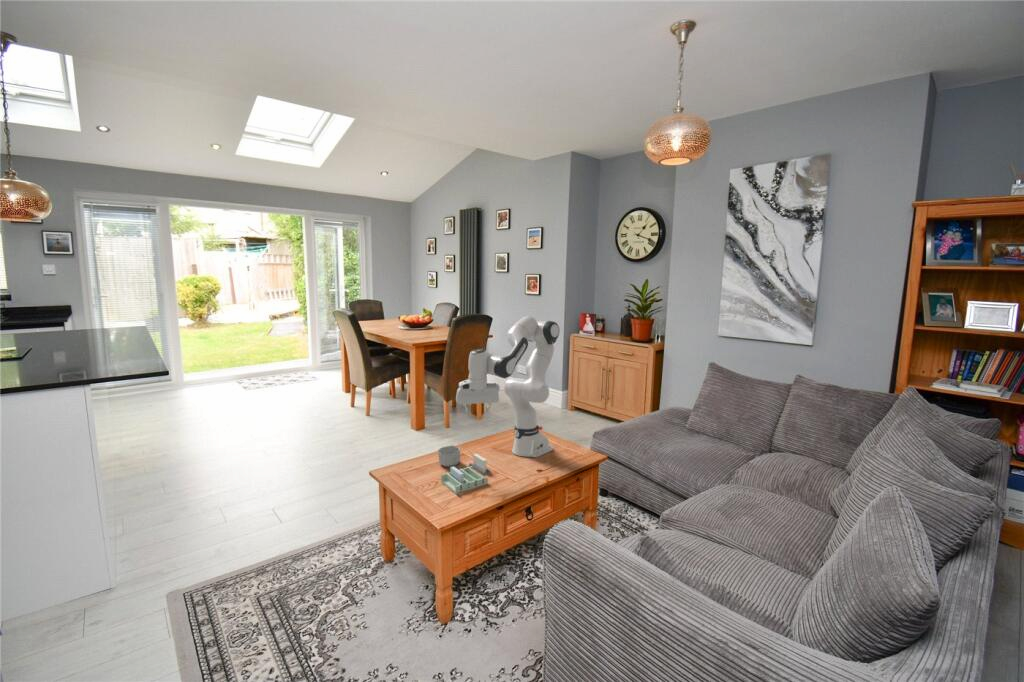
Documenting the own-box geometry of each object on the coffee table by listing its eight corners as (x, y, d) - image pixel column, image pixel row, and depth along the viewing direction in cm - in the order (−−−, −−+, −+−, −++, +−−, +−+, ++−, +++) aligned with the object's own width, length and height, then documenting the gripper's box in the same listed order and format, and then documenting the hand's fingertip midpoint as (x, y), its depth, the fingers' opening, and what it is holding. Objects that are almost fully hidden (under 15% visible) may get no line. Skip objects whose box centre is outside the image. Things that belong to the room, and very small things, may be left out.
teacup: (456, 470, 217) (456, 454, 216) (434, 468, 219) (434, 452, 218) (464, 459, 230) (464, 443, 229) (444, 457, 233) (444, 442, 231)
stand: (477, 464, 224) (477, 460, 224) (491, 473, 213) (491, 470, 213) (468, 466, 221) (468, 463, 221) (482, 476, 211) (482, 472, 210)
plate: (476, 465, 221) (476, 453, 220) (486, 471, 214) (486, 459, 213) (473, 466, 220) (473, 454, 219) (483, 472, 213) (483, 460, 212)
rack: (471, 473, 214) (471, 459, 212) (487, 484, 202) (487, 469, 201) (441, 482, 204) (440, 467, 203) (456, 494, 193) (455, 478, 192)
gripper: (498, 381, 218) (497, 409, 220) (455, 382, 214) (455, 411, 216) (500, 384, 212) (500, 413, 214) (456, 385, 208) (456, 415, 210)
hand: (477, 412), depth 215 cm, fingers open, 8 cm apart
